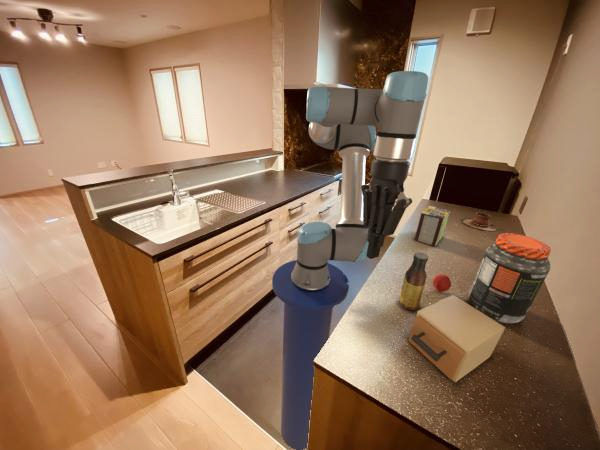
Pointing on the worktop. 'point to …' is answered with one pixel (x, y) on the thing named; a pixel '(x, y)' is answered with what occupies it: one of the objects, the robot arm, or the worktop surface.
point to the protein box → (431, 225)
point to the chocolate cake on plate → (480, 221)
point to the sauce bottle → (414, 282)
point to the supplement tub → (510, 277)
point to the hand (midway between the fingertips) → (372, 256)
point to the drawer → (436, 347)
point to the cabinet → (464, 330)
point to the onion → (442, 282)
